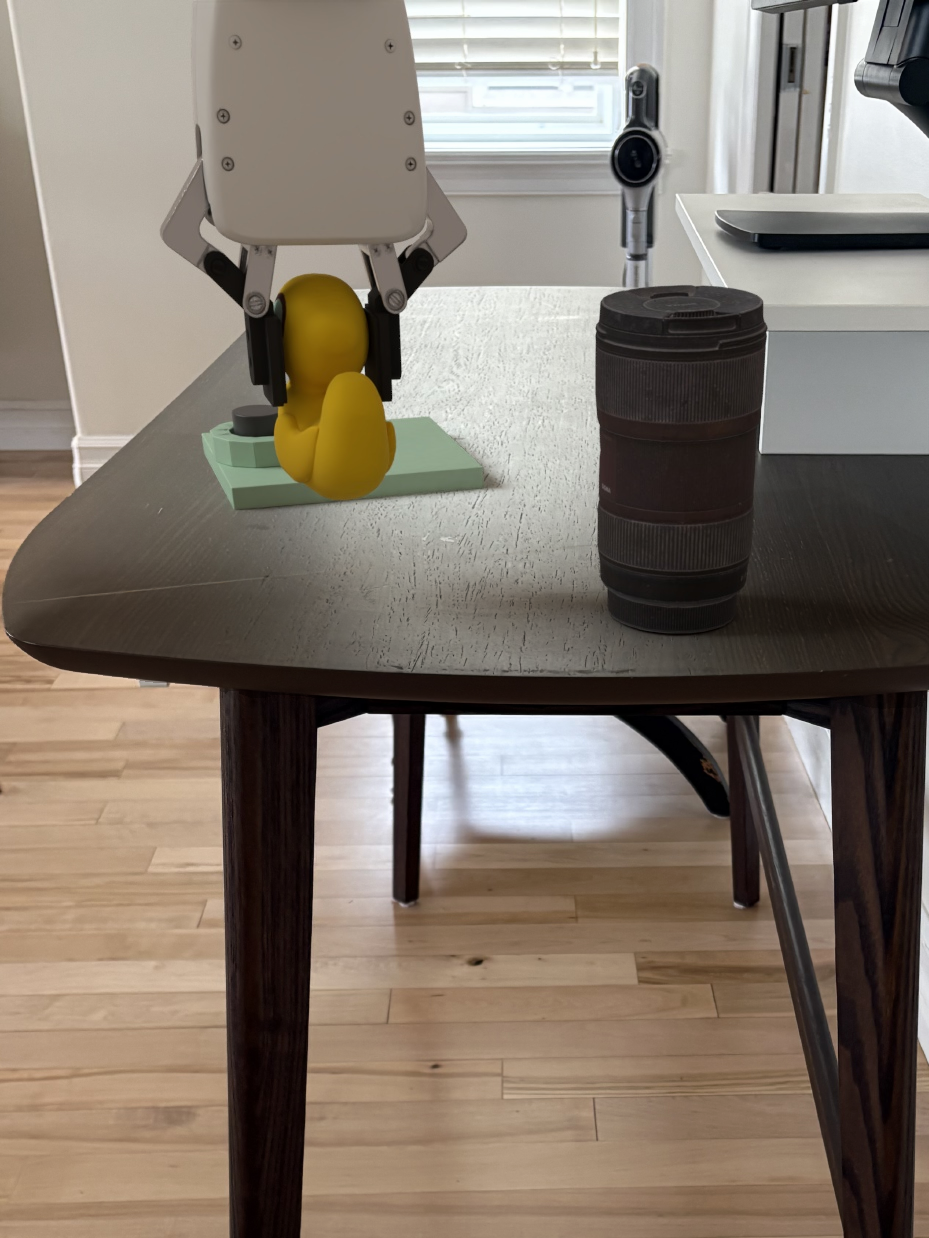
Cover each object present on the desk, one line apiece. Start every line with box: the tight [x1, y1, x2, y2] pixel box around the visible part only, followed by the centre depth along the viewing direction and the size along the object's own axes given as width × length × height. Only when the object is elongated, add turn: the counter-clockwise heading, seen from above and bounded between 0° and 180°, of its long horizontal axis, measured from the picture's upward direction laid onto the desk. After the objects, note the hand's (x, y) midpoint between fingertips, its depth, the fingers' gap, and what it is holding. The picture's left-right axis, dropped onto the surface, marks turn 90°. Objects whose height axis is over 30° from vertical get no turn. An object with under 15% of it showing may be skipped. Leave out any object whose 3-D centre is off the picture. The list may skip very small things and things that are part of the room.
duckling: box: [273, 272, 396, 501], centre depth 75 cm, size 11×5×10 cm, turn 25°
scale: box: [201, 415, 485, 511], centre depth 100 cm, size 16×14×3 cm
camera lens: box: [594, 284, 769, 634], centre depth 75 cm, size 8×8×15 cm
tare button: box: [231, 404, 278, 437], centre depth 97 cm, size 3×3×2 cm
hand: (327, 394), depth 75 cm, fingers closed on duckling, 4 cm apart
